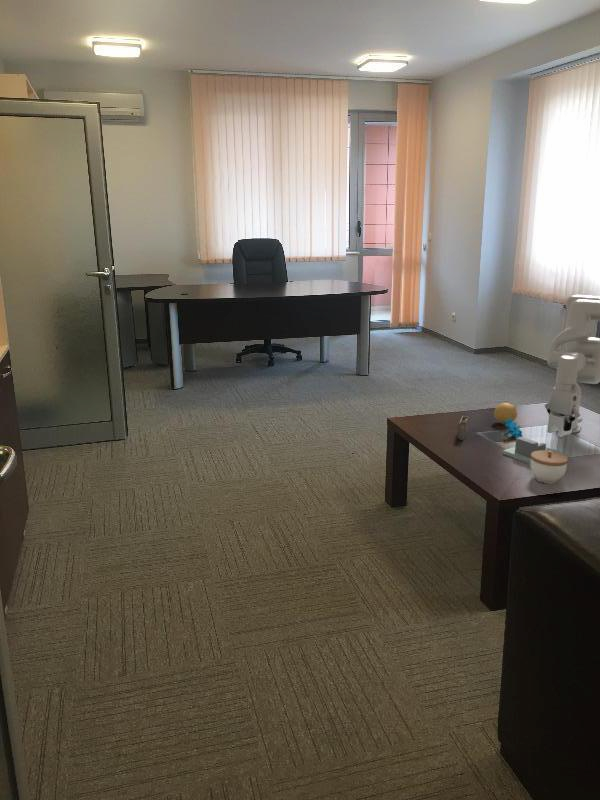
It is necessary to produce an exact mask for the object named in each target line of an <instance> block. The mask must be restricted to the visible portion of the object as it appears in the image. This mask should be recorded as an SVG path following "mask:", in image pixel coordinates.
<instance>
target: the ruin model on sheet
mask: <svg viewBox="0 0 600 800" xmlns="http://www.w3.org/2000/svg"><path fill="white" fill-rule="evenodd" d="M469 418H470V417H469V416H468V415H467V416H465V415H462V417H461V419H460V420H459V423H458V430H457V431H458V433H457V440H458V439H459V441H465V439H464V438H466V436H467V434H468V428H469Z"/></svg>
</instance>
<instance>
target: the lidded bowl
mask: <svg viewBox="0 0 600 800" xmlns="http://www.w3.org/2000/svg"><path fill="white" fill-rule="evenodd" d="M568 462H569V458H568V457H567V455H566V456H565V455H563V454H561V453H558V452H554V451H547V450H539V451H534V452H532V453H531V461H530V464H529V465H530V466H529V467H530V471H531V473H532V475H533V476H534V478H535V480H536V481H538V482H540V481H541V483H542V482H544V483H543V484H548V483H553V484H556V483H557V482H558V481H560V480H561V479H562V478H563V477H564V475H565V473H566V470H567V467H568Z"/></svg>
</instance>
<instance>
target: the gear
mask: <svg viewBox="0 0 600 800" xmlns="http://www.w3.org/2000/svg"><path fill="white" fill-rule="evenodd" d="M505 423H506V424H505V425H504V426H505V427H506V428H507V431H506V432H505V433H504V436H508V435H509V434H510V435H511V437H513V436H514V438H515V439H516V438H519V437H523V431H522V430H520V429H521V425H517V422H516V421H513V420H512V419H507V420H506V421H505Z"/></svg>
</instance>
